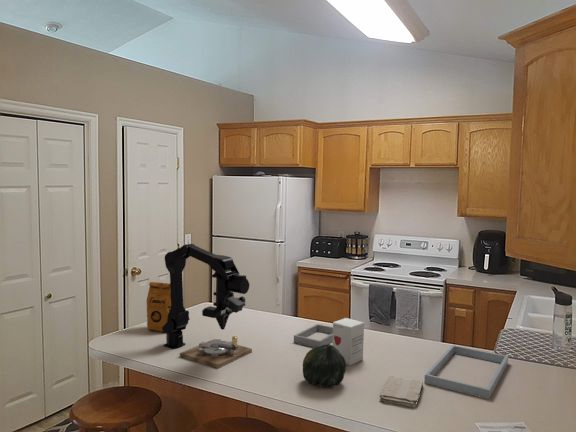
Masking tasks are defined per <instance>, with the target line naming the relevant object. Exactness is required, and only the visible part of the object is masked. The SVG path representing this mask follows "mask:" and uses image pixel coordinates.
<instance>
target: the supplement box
mask: <svg viewBox="0 0 576 432" xmlns="http://www.w3.org/2000/svg"><path fill="white" fill-rule="evenodd" d="M332 327H333V341H332V344H331V345H332V346H334V347H335V348H336V349H337V350H338V351H339V352H340V353H341V354H342V356H343V357H344V359H345V361H346V366H352V365H354V364H356V363H358V362H361V361H362V360H363V359H364V337H365V336H364V333H365V322H364V321H359V320H357V319H356V320H355V319H351V318H349V317H344V318H341V319H339V320H336V321H333V323H332Z"/></svg>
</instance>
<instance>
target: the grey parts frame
mask: <svg viewBox="0 0 576 432" xmlns="http://www.w3.org/2000/svg"><path fill="white" fill-rule="evenodd" d="M317 332H319V333H325V334H328V335H327V336H325V337H323V338H322V339H315V338H310V337H309V336H311V335H314V334H315V333H317ZM293 343H295V344H300V345H303V346H308V347H312V348H316V347H319V346H322V345H328V344H331V343H333V326H329V325H324V324H319V323H316V324H314V325H312V326H310V327H308V328H306V329H304V330H302V331H301V332H299V333H296V334H295V335H293Z"/></svg>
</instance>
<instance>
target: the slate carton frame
mask: <svg viewBox="0 0 576 432" xmlns="http://www.w3.org/2000/svg"><path fill="white" fill-rule="evenodd" d="M454 354H456V355H458V356H459V355H460V356H465V357H470V358H474V359H479V360H484V361H489V362H494V363H498V364H499V366H498V368H497V369H496V371H495V373H494V375H493V377H492V379H491V380H490V382H489V383H488V386H486V387H482V386H479V385H475V384H470V383H467V382H462V381H457V380H453V379H449V378H445V377H440V376H437V375H436V374H437V373H439V371H440V370H441V369H442V368H443V366H444V365H445V364H446V363H447V362H448V361H449V360H450V359H451V357H452V356H453V355H454ZM508 364H509V356H508V355H505V354H500V353H494V352H490V351H484V350H479V349H475V348H470V347H464V346H459V345H454V344H452V345H451V346H450V347H449V348H448V349H447V350H446V351H445V352H444V353H443V354H442V355H441V356H440V357H439V358H438V360H437V361H436V362H434V364H433V365H432V366H431V367H430V368H429V370H427V372H425V374H424V382H423V384H426V383H427V385H430V384H431V385H430V386H434V385H435V386H434V387H439V388H441V389H442V388H443V389H447V390H450V391H454V392H458V391H459V393H462V394H466V395H470V394H471V395H470V396H474V395H476V396H475V397H478V396H480V397H479V398H482V397H483V398H482V399H486V398H487V399H486V400H490V398H491V397H490V396H492V395H493V393H494V390H495V389H496V387H497V385H498V383H499V381H500V379H501V377H503V374H504V373H505V370H506V368H507V366H508ZM434 375H435V376H434ZM491 394H492V395H491Z"/></svg>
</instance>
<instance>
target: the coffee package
mask: <svg viewBox="0 0 576 432" xmlns="http://www.w3.org/2000/svg"><path fill="white" fill-rule="evenodd" d="M170 309H171V290H170V283H168V282H166V283H164V282H157V281H155V282H154V281H150V282H149V288H148V292H147V297H146V318H147V320H146V325H147V327H146V330H149V331H157V332H161V333H163V330H162V327H163V326H164V325H165V324H166V323H167V318H168V313H169V311H170Z"/></svg>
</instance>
